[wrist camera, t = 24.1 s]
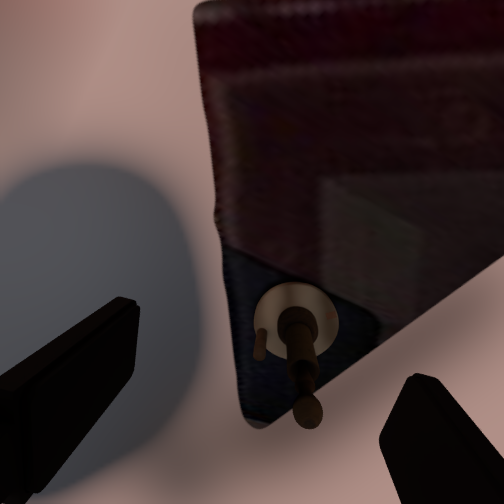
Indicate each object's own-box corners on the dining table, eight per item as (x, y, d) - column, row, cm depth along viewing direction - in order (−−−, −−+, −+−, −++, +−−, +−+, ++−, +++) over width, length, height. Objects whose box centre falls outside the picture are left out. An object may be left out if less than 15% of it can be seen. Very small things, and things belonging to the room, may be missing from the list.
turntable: (323, 271, 40) (333, 290, 33) (345, 344, 43) (359, 376, 35) (243, 294, 42) (236, 316, 35) (269, 361, 45) (267, 394, 38)
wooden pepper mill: (325, 327, 41) (358, 431, 23) (294, 347, 42) (304, 459, 25) (299, 298, 40) (314, 384, 23) (269, 320, 41) (261, 416, 24)
